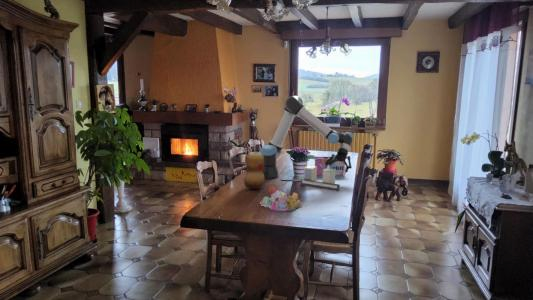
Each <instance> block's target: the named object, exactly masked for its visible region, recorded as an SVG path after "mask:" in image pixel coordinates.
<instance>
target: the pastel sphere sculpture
mask: <svg viewBox="0 0 533 300" xmlns="http://www.w3.org/2000/svg"><path fill="white" fill-rule="evenodd" d="M268 192H269V193H270V194H271V196H270V197H269V196H264V197H263V198H262V200H260V202H259V205H260V204H261V205H260V207H262V206H264V207H263V208H268V207H269V208H270V209H271V210H270V209H269V208H268V209H269V210H270V211H275V212H279V211H280V212H285V211H286V212H290V211H291V212H292V211H296V208H301V207H302V203H303V201H302V200H300V199H299V194H298V193H297V192H293V193H292V195H287V193H286V192H283V191H282V190H276V188H275V186H270V187H269V188H268Z"/></svg>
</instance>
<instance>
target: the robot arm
mask: <svg viewBox="0 0 533 300" xmlns="http://www.w3.org/2000/svg"><path fill="white" fill-rule="evenodd" d="M303 101H304V100H303V99H302V97H300V96H299V95H292V96H288V98H287V99H286V100H285V101H284V102H285V103H284V104H285V105H284V108H283V111H284V113H283V115H282V117H281V120H280V122H279V124H278V126H277V128H276V131H275V133H274V135H273V137H272V139H271V140H269V141H268V144H266V145H263V146H262V147H261V149H260V153H261V154H263V156H264V168H263V174H264V179H267V180H269V179H270V180H271V179H272V180H273V179H277V178H279V171H278V168H277V159H279V157H281V154H282V151H283V148H284V146H283V143H284V141H285V139H286V137H287V134H288V132H289V131H290V128H291V126H292V124H293V123H294V119H295V117H298V118H300V119H301V120H303V121H304V122H305V123H306V124H308V125H309V126H311V128H313V129H314V131H316V132H318V133H319V134H320V135H321V136H322V137H324V138H325V139H326V140H327V141H328V142H329V144H332V145H333V144H337V143H339V144H340V145H339V147H338V150H337V152H336V154H334V153H331V156H329V157H330V158H329V159H328V160H327V161H326V162H325V165H327V166H326V169H327V168H330V165H332V164H333V163H335V162H337V161H341V162H342V161H343V162H344V163H345V169H344V172H343V175H342V176H343V177H344V178H345V176H346V174H347V173H348V172H349V169H352V163H351V156H350V155H348V154H349V152H350V149H351V145H352V143H353V140H354V134H353V133H352V132H348V131H346V132H344V133H342V132H339V131H337V130H334V129H331V128H330V127H329V126H328V125H327V124H325V123H324V122H323V121H322V120H321V119H319V118H318V117H317V116H315V114H313V113H312V112H310V110H308V109H307V108H306V106H305V104H304V103H303ZM336 159H337V160H336ZM345 160H347V162H348V163H347V162H346V161H345Z"/></svg>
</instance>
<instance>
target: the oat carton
mask: <svg viewBox="0 0 533 300" xmlns="http://www.w3.org/2000/svg"><path fill="white" fill-rule="evenodd" d="M303 168H304V170H303V171H304V172H303V173H304V174H303V179H307V180H314V181H318V180H317V177H318V175H317V167H315V165H308V166H305V167H303Z"/></svg>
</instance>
